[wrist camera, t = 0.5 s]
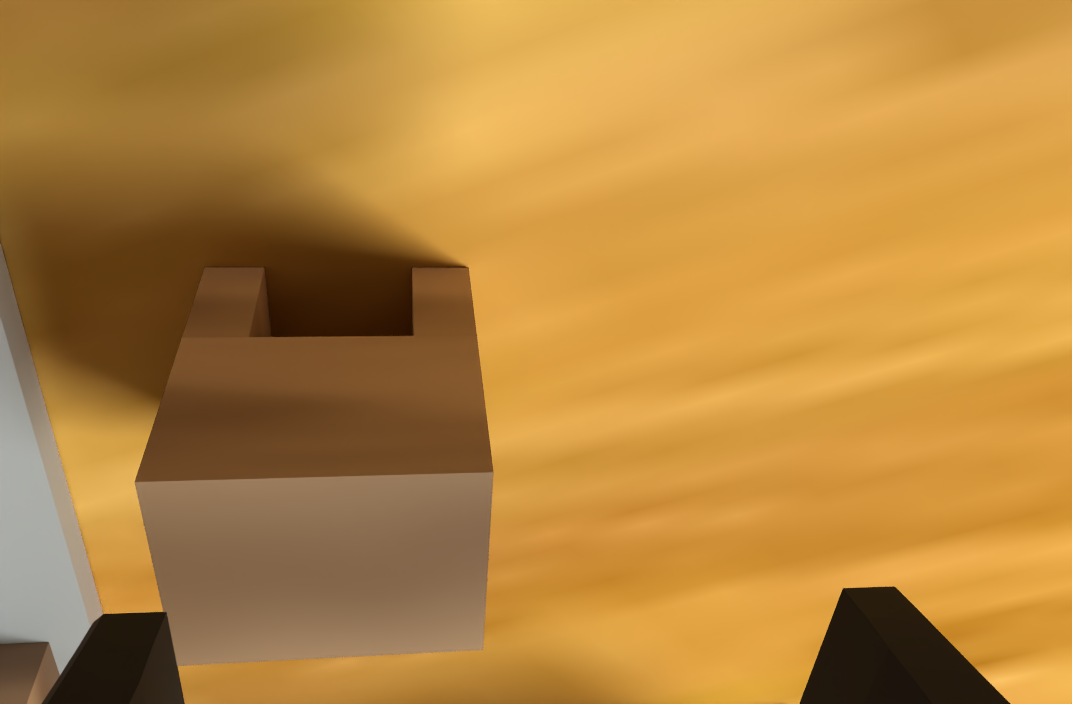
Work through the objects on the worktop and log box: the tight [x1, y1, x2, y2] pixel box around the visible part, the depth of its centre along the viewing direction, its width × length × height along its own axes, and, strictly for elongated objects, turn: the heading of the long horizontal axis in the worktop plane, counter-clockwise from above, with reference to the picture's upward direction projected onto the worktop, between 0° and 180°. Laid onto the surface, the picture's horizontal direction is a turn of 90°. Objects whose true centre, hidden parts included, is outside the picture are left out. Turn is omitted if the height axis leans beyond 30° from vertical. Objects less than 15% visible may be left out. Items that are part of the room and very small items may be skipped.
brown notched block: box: [135, 267, 493, 666], centre depth 17 cm, size 4×5×6 cm
